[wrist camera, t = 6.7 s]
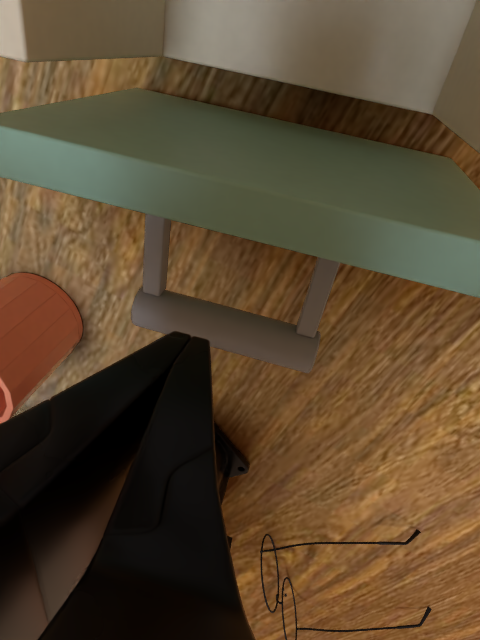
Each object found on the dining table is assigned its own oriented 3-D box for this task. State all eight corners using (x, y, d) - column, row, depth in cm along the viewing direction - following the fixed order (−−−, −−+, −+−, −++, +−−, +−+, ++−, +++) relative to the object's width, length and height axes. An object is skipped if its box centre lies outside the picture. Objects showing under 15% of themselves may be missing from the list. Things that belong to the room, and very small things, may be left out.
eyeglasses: (419, 520, 28) (430, 601, 24) (432, 613, 34) (442, 691, 30) (260, 514, 32) (246, 583, 28) (297, 599, 38) (290, 666, 34)
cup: (101, 332, 25) (34, 408, 20) (45, 362, 28) (-27, 437, 22) (33, 255, 23) (-62, 317, 18) (-20, 296, 26) (-117, 360, 20)
